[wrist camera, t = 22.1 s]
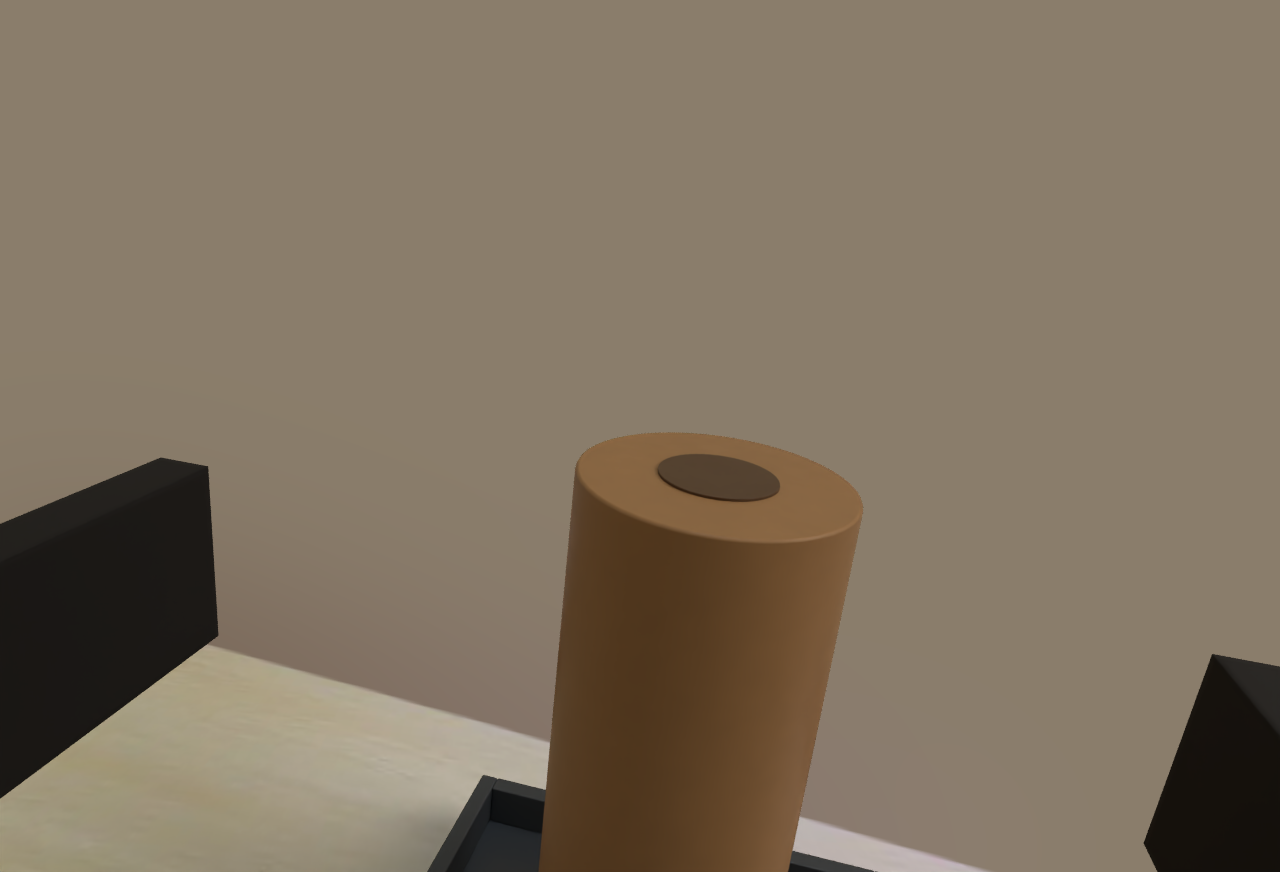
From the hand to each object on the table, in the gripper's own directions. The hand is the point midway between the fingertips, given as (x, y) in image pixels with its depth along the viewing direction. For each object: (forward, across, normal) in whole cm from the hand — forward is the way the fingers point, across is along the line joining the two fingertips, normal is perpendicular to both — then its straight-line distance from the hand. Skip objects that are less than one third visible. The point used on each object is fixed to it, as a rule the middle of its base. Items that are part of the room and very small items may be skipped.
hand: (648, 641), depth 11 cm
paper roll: (+10, 0, -18) cm, 20 cm away
